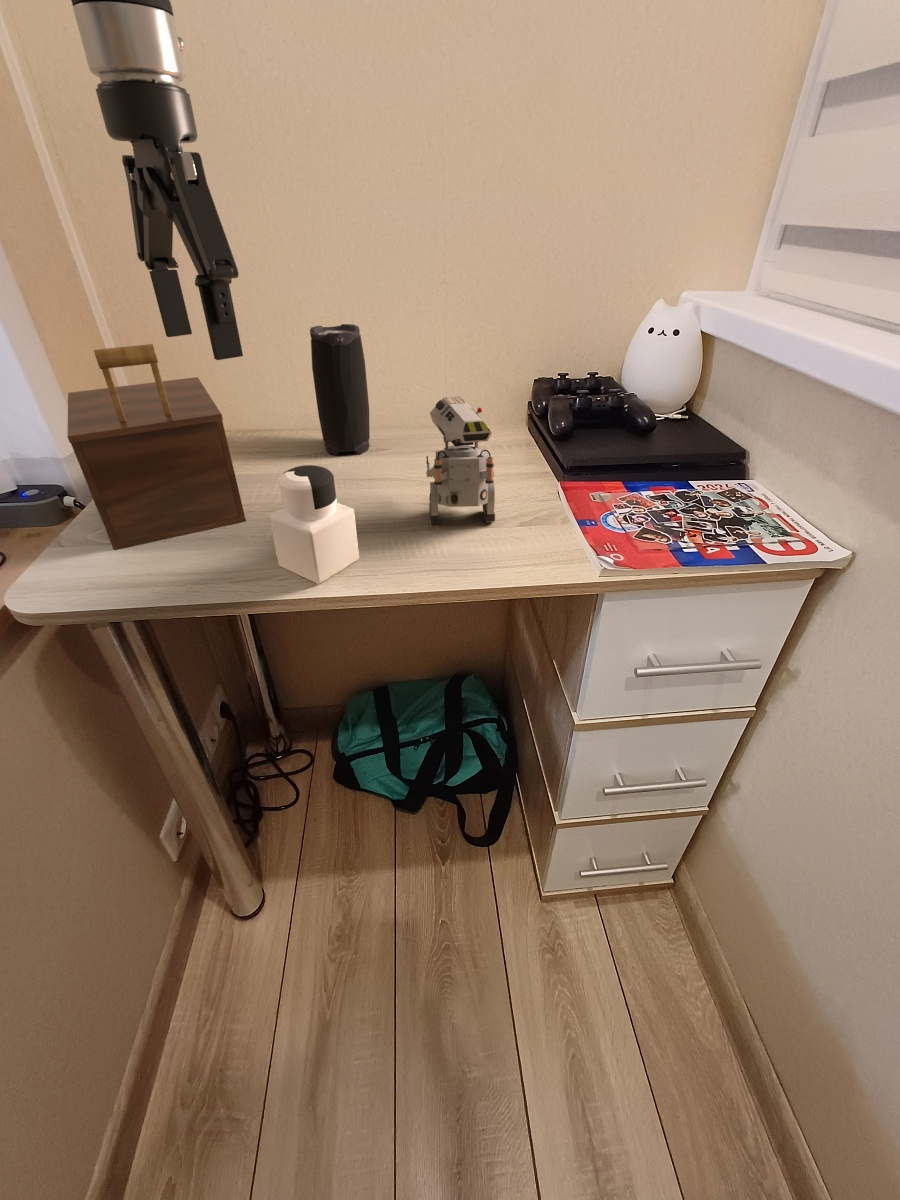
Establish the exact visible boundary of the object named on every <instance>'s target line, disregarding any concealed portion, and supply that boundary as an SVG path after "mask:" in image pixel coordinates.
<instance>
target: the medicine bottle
mask: <svg viewBox="0 0 900 1200" xmlns="http://www.w3.org/2000/svg"><path fill="white" fill-rule="evenodd" d="M278 483H279V484H278V485H279V490H280V496H281V501H282V506H283V507H281V508H280V509H278V510H275V511H274V512H272V513H270V514H269V515H268V520H269V524H270V529H271V534H272V539H273V543H274V549H275V554H276V557H277V563H278V566H280V568H283V569H285V570H288V571H289V572H292V573H294V574H295V575H298V576H300V577H303V578H304V579H306V580H308V581H311V582H313V583H315V584H317V585H320V584H322V583H324V582H325V581H326V580H328V579H330V578H332V577H333V576H334V575H336V574H338V573H340V572H341V571H343V570H344V569H346V568H347V567H349V566H351V565H352V564H353V563H355V562H357V561H358V560H360V553H359V545H358V544H359V541H358V534H357V533H358V532H357V525H356V523H357V522H356V515H355V509H354V508H352V507H349V506H347V505H344V504H342V503H339V502H338V501H337V492H336V485H335V476H334V474H333V472H332V471H331V470H329V469H328V468H326V467H323V466H319V465H313V464H308V465H307V464H304V465H299V466H295V467H292V468H290V469H288V470H286V471H284V472H283V473H282V474H281V475H280V476H279V478H278Z"/></svg>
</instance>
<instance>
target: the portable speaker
mask: <svg viewBox="0 0 900 1200" xmlns="http://www.w3.org/2000/svg"><path fill="white" fill-rule="evenodd" d="M309 334H310V335H309V336H310V351H311V369H312V377H313V384H314V393H315V399H316V405H317V406H316V407H317V414H318V419H319V425H320V430H321V435H322V441H323V442H324V448H325V452H327V453H328V454H329V455H333V456H337V455H339V453H341V452H342V453H343V452H354V453H355V454H356V455H362V454H364V453H366V452H368V451H369V449H370V434H371V433H370V402H369V391H368V379H367V370H366V359H365V354H364V348H363V342H362V336H361V333H360V326H358V325H356V324H353V323H352V324H350V323H342V324H340V325H335V326H322V325H316V326H311V327H310V329H309Z"/></svg>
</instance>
